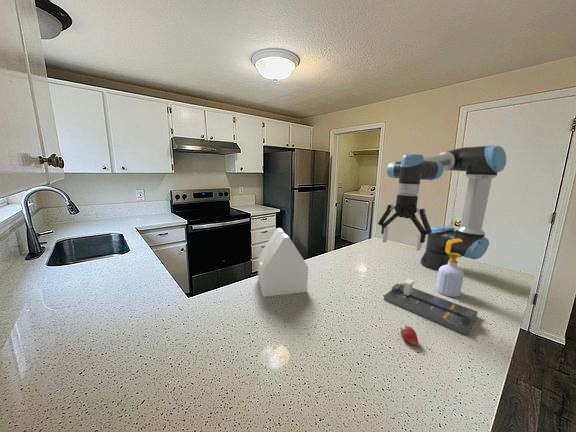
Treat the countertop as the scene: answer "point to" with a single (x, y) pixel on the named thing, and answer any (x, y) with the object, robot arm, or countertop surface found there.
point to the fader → (408, 286)
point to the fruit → (409, 335)
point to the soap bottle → (450, 273)
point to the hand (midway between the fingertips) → (400, 245)
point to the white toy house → (281, 267)
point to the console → (433, 308)
